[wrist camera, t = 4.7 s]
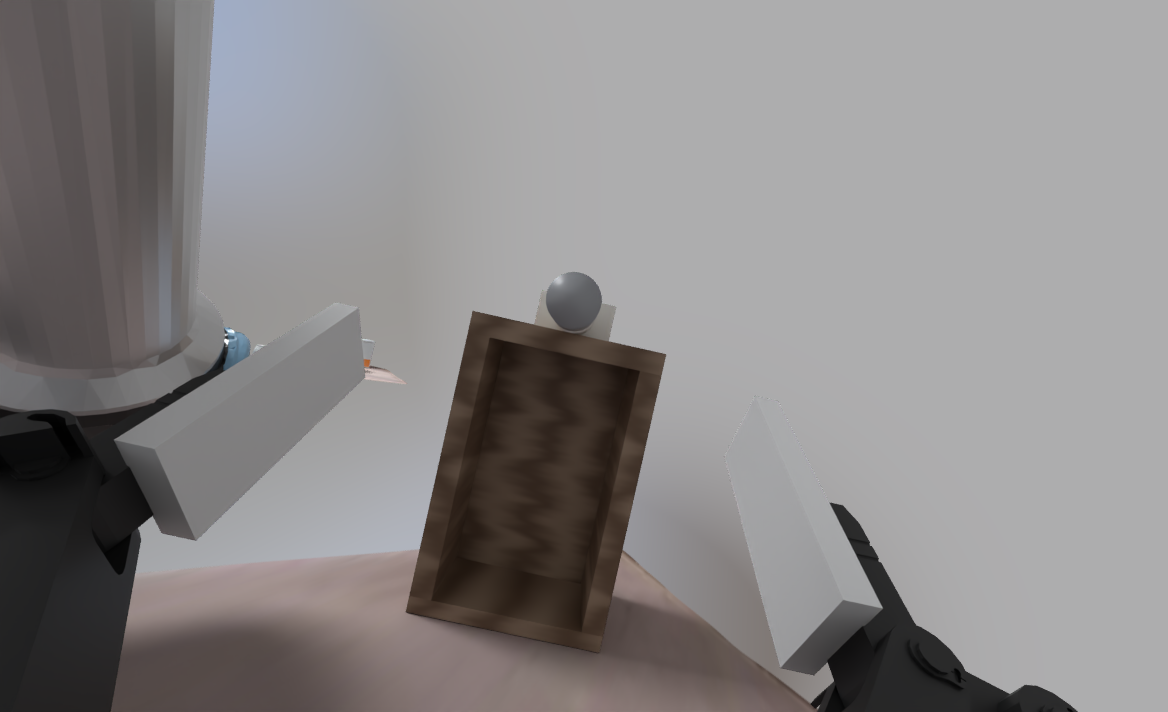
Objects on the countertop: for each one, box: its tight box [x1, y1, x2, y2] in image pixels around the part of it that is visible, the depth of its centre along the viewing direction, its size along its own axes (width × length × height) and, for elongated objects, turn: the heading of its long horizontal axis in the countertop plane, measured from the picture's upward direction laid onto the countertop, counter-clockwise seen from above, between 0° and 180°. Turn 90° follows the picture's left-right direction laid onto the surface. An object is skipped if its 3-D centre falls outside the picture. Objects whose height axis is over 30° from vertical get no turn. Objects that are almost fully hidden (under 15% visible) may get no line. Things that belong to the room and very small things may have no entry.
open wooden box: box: [406, 311, 666, 653], centre depth 43 cm, size 18×10×28 cm, turn 91°
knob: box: [534, 272, 616, 341], centre depth 39 cm, size 18×8×4 cm, turn 1°
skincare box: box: [362, 339, 375, 368], centre depth 179 cm, size 6×4×12 cm
